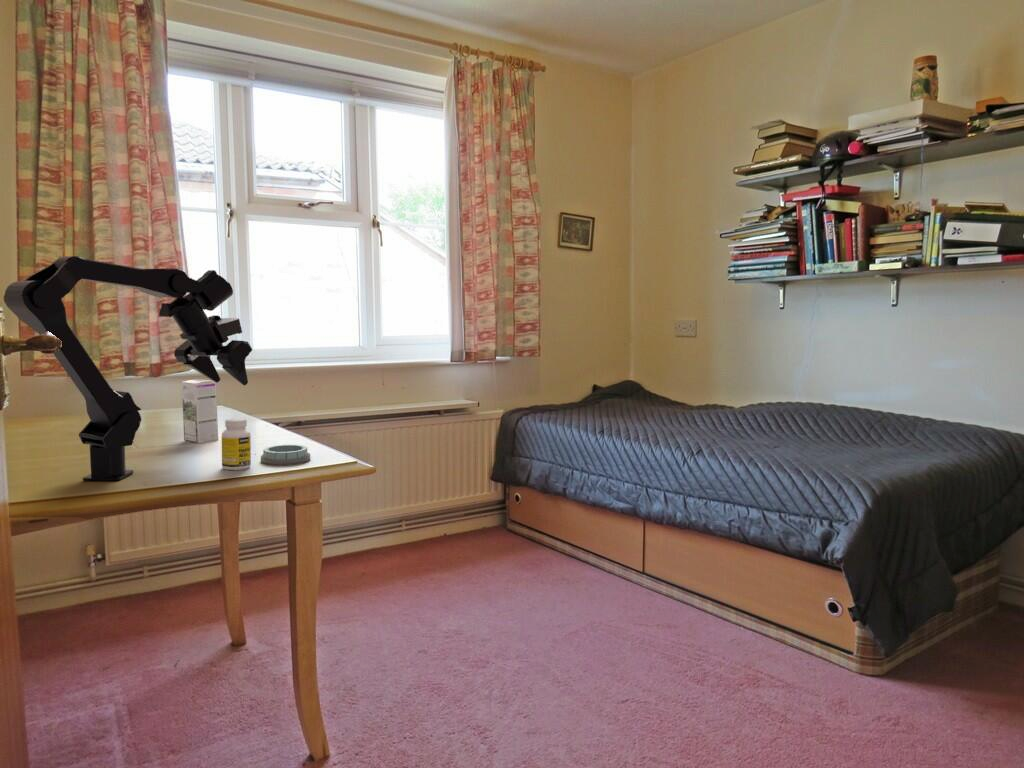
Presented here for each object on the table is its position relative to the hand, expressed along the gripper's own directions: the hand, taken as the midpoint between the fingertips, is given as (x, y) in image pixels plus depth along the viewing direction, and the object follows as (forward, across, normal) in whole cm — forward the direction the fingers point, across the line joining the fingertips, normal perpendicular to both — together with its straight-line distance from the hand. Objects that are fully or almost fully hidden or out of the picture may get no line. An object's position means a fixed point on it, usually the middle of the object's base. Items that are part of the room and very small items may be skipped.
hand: (232, 382), depth 156 cm
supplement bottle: (+8, -12, +16) cm, 22 cm away
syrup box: (+16, +18, +5) cm, 25 cm away
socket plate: (+14, -15, +8) cm, 22 cm away
